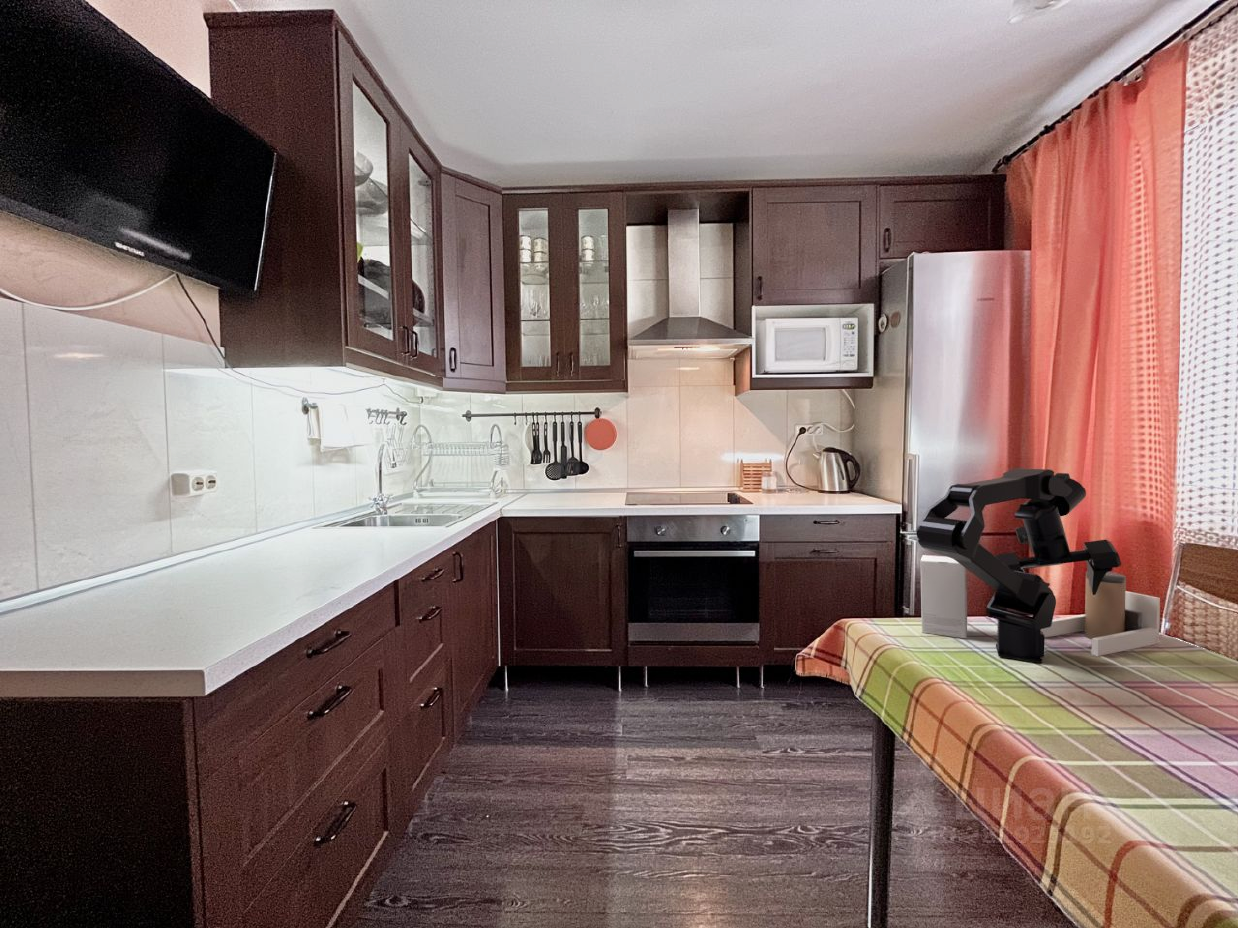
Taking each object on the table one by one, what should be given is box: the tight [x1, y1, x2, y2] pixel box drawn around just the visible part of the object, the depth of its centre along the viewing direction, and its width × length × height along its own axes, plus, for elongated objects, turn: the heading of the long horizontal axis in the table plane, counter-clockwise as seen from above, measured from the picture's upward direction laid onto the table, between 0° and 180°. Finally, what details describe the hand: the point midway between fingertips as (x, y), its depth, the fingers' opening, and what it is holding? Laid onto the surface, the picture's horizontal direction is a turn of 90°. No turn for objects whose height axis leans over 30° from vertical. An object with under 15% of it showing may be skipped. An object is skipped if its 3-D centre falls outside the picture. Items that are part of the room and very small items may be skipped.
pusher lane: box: [1041, 590, 1161, 657], centre depth 110 cm, size 18×11×9 cm, turn 109°
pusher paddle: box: [1125, 609, 1142, 632], centre depth 112 cm, size 1×8×6 cm, turn 19°
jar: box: [1084, 570, 1127, 641], centre depth 110 cm, size 6×6×13 cm
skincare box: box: [919, 554, 968, 639], centre depth 115 cm, size 8×7×16 cm
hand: (1063, 596), depth 108 cm, fingers open, 9 cm apart
